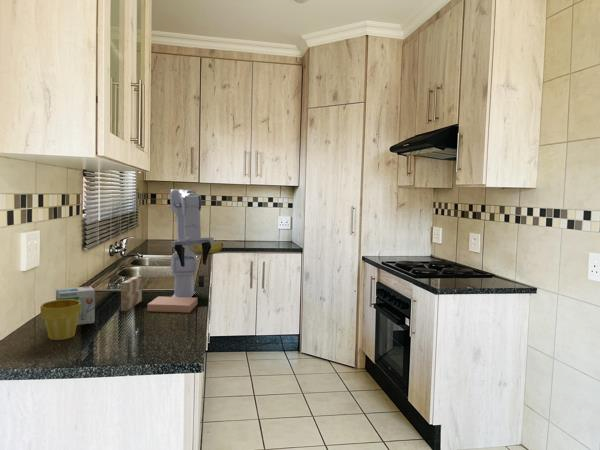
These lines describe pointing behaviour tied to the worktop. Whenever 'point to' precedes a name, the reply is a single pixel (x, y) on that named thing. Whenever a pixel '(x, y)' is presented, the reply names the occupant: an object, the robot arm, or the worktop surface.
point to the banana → (213, 249)
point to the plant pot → (61, 318)
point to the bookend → (131, 292)
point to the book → (172, 304)
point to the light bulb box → (84, 296)
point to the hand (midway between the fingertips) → (193, 265)
